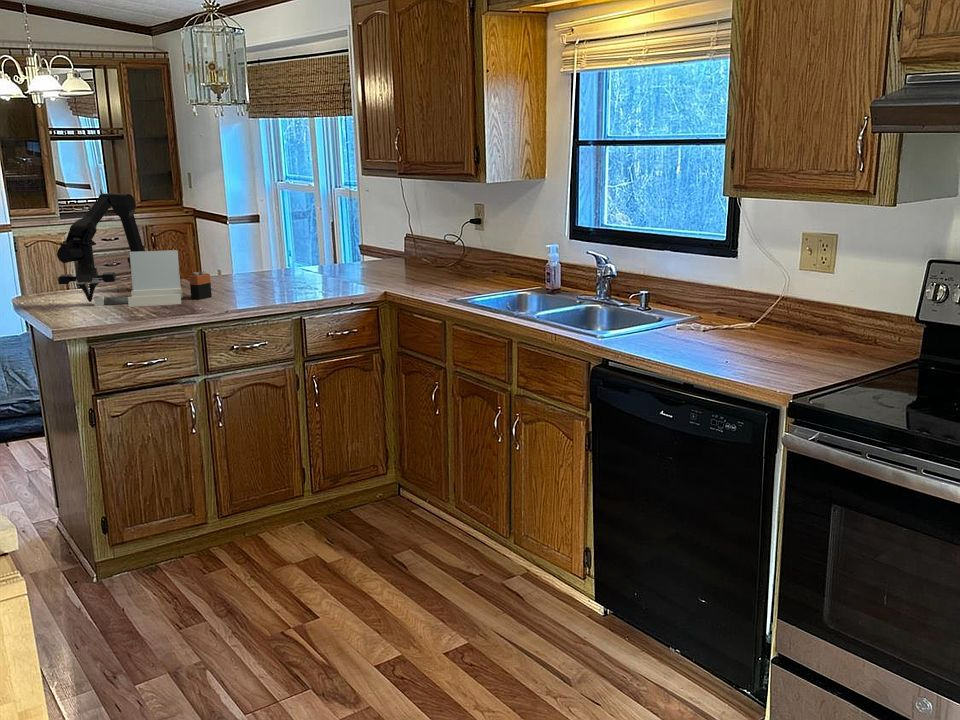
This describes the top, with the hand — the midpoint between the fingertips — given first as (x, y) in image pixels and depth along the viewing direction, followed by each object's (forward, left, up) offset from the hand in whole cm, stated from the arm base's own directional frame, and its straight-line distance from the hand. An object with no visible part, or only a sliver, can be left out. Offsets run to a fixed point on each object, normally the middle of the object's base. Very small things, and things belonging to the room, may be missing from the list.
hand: (90, 301), depth 314 cm
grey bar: (0, +9, -1) cm, 9 cm away
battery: (-4, +39, -2) cm, 39 cm away
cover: (-9, +23, +9) cm, 26 cm away
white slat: (0, +23, -1) cm, 23 cm away
